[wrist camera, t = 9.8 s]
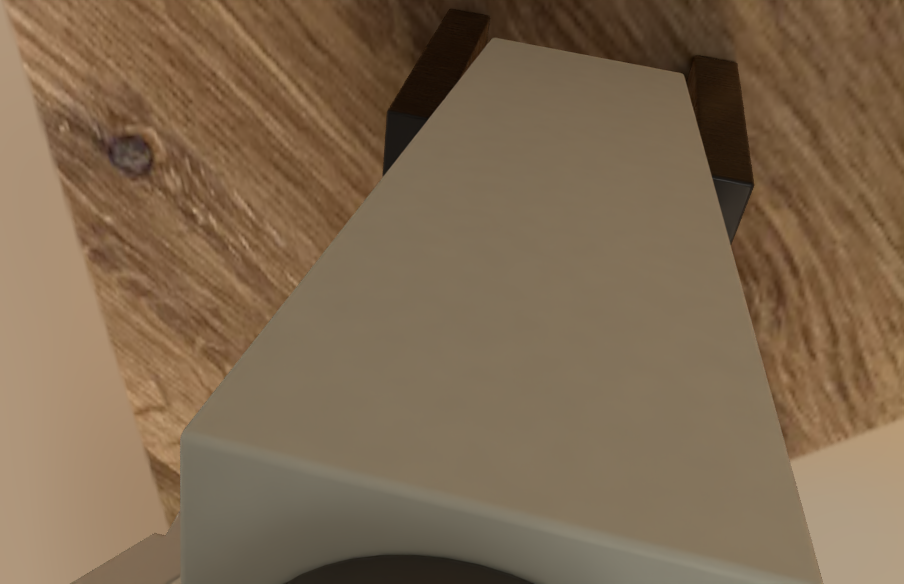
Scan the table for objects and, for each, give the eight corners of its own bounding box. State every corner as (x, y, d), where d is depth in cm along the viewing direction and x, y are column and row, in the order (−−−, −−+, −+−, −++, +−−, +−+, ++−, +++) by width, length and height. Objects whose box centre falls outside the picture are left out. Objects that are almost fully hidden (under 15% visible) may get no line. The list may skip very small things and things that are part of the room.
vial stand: (449, 7, 20) (386, 110, 16) (738, 61, 19) (755, 185, 15) (417, 299, 26) (364, 434, 21) (640, 349, 25) (632, 498, 21)
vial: (-54, 717, 4) (28, 1123, 5) (946, 1001, 3) (661, 1329, 5) (491, 36, 18) (462, 213, 19) (684, 73, 17) (635, 250, 19)
